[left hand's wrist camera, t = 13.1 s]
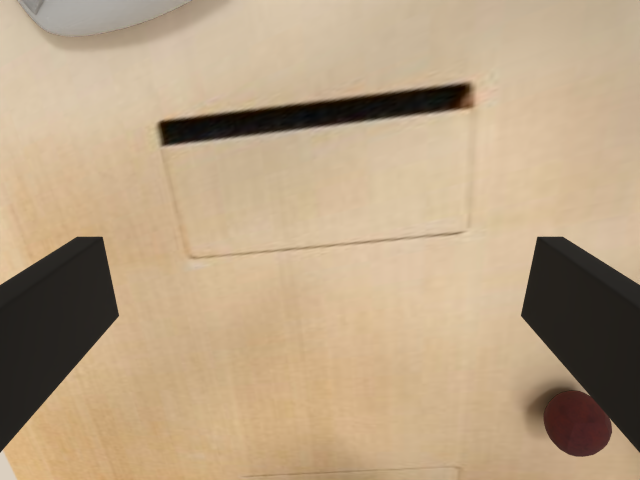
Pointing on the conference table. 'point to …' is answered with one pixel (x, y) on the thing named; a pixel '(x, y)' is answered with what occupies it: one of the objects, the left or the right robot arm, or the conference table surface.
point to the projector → (94, 14)
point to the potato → (577, 424)
